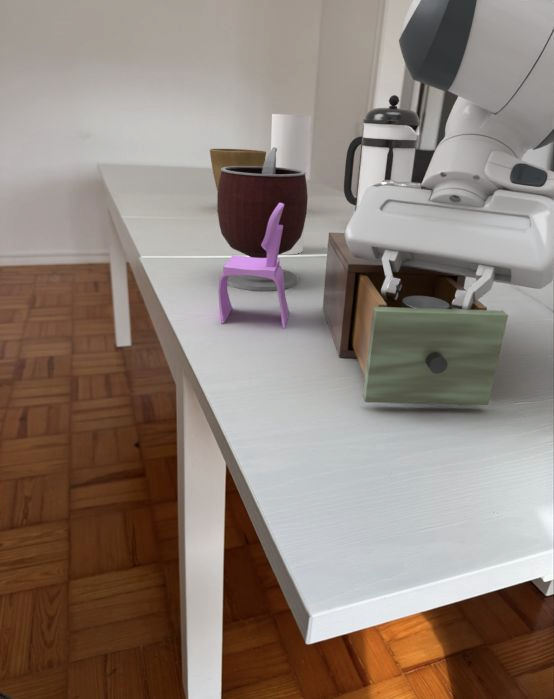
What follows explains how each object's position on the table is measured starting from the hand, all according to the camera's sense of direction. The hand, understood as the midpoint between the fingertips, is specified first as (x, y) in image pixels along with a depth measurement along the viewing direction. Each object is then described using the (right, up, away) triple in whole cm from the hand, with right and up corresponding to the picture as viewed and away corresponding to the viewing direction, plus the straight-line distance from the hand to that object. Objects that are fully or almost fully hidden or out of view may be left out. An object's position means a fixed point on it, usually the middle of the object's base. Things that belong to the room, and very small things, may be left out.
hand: (423, 304), depth 52 cm
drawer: (0, -6, +6) cm, 8 cm away
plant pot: (-25, +34, +99) cm, 107 cm away
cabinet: (-1, -2, +18) cm, 18 cm away
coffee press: (+10, +25, +82) cm, 86 cm away
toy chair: (-17, 0, +21) cm, 27 cm away
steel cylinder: (0, -6, +3) cm, 7 cm away
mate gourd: (-16, +7, +39) cm, 43 cm away
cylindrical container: (-12, +15, +58) cm, 61 cm away
